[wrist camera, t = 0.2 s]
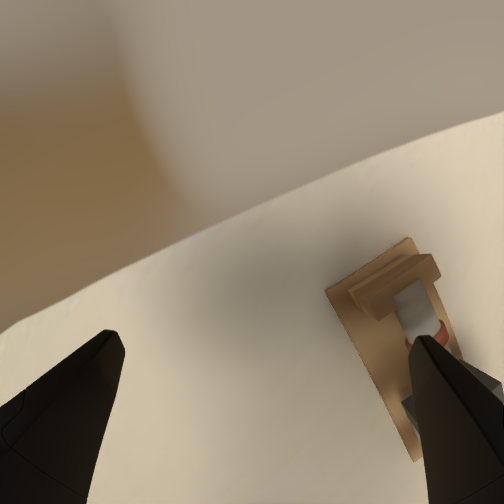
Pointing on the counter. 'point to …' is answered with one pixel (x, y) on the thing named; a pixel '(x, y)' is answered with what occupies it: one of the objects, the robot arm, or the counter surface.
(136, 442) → the counter surface
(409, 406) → the collar
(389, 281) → the wooden rail stand
